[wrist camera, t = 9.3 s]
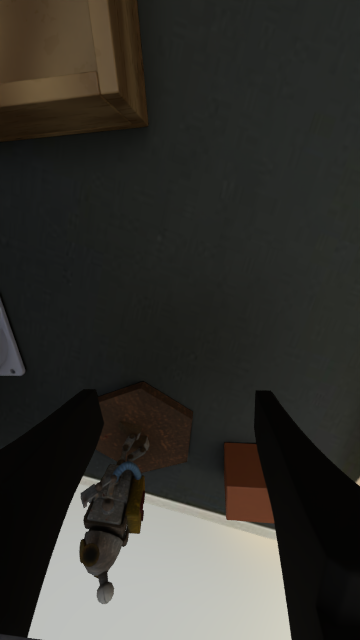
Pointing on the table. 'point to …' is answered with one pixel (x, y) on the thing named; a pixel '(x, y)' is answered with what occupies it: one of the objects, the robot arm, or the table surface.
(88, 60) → the box
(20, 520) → the robot arm
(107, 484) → the robot figurine
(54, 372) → the table surface
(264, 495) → the block
